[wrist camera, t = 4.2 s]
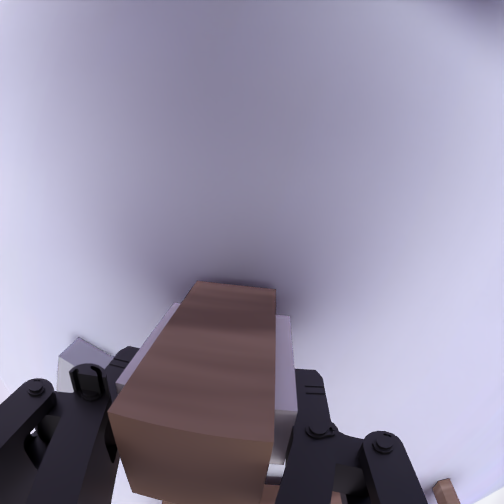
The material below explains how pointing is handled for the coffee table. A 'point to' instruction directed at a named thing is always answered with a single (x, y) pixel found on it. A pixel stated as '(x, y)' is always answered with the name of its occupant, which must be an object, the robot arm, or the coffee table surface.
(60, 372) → the grey stick
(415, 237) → the coffee table surface
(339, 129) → the coffee table surface
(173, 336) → the crook
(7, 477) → the robot arm
